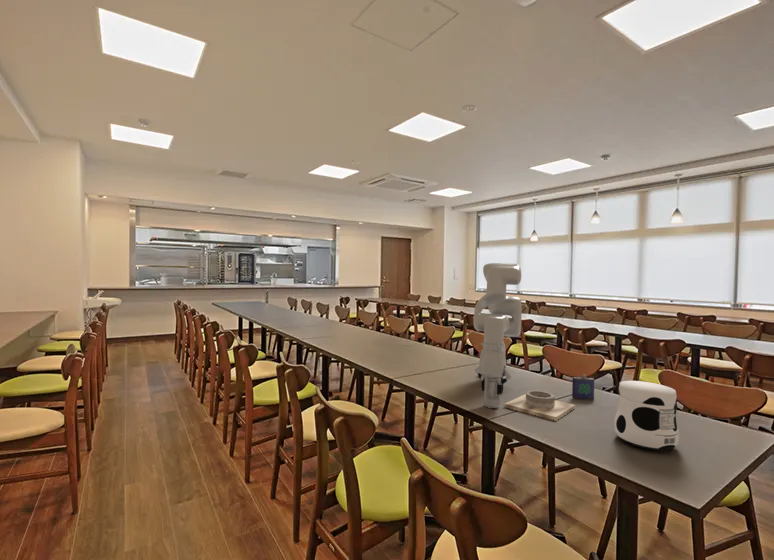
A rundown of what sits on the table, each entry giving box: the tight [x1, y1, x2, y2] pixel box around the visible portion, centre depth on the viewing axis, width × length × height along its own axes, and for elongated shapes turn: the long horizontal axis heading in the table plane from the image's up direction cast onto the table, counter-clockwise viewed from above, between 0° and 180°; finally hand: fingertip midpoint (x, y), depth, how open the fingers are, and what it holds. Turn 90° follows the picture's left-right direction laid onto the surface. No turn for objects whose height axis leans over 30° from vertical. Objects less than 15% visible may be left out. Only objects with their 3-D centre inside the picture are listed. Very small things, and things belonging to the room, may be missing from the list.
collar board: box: [504, 389, 576, 422], centre depth 156 cm, size 20×20×6 cm
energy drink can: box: [483, 374, 501, 409], centre depth 156 cm, size 6×6×15 cm
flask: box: [571, 373, 595, 400], centre depth 170 cm, size 9×3×11 cm, turn 87°
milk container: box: [613, 380, 680, 452], centre depth 125 cm, size 17×17×18 cm
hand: (492, 391), depth 156 cm, fingers closed on energy drink can, 5 cm apart
